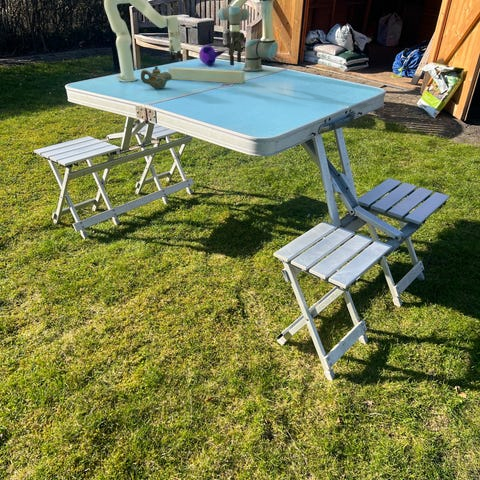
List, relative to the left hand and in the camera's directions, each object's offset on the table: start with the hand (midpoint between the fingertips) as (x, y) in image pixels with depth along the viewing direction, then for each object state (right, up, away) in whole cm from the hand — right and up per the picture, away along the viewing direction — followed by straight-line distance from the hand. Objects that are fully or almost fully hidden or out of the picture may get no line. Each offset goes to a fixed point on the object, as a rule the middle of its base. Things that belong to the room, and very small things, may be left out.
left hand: (176, 59), depth 338 cm
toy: (+23, +18, +58) cm, 64 cm away
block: (+23, -16, -1) cm, 28 cm away
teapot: (-10, -30, -24) cm, 40 cm away
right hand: (+45, -9, -15) cm, 49 cm away
